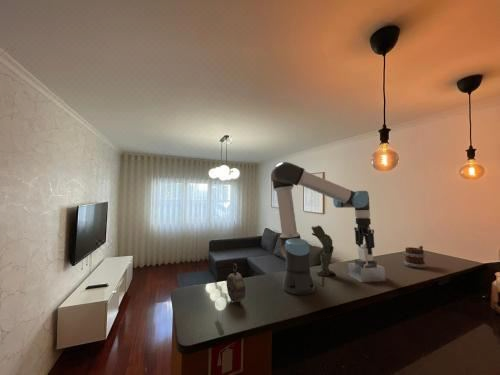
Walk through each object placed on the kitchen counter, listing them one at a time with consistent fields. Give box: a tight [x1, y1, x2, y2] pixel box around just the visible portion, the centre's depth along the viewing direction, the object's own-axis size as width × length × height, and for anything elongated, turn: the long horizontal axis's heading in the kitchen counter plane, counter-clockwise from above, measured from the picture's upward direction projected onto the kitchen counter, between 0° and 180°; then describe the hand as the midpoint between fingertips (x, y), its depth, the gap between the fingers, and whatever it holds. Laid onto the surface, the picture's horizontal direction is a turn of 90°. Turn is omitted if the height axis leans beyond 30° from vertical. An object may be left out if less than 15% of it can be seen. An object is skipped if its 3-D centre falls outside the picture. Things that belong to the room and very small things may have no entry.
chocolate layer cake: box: [403, 245, 427, 270], centre depth 136 cm, size 12×14×15 cm
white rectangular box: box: [347, 259, 386, 283], centre depth 116 cm, size 16×11×10 cm
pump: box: [357, 242, 374, 262], centre depth 116 cm, size 5×5×9 cm
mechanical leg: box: [311, 225, 337, 277], centre depth 123 cm, size 14×7×30 cm, turn 85°
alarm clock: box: [226, 263, 246, 308], centre depth 88 cm, size 11×5×16 cm, turn 27°
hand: (365, 259), depth 116 cm, fingers closed on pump, 5 cm apart
